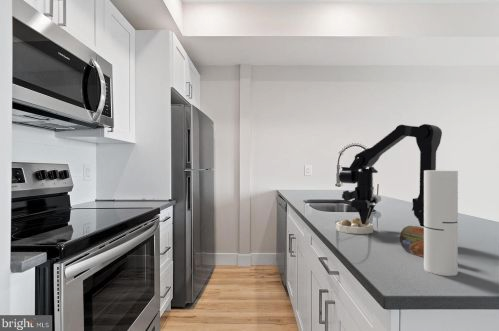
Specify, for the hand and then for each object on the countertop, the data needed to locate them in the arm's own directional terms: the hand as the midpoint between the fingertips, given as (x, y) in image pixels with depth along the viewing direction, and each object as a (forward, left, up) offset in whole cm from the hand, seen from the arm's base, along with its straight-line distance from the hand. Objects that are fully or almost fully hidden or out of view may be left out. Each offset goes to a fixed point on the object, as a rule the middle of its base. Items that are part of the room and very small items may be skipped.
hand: (364, 223), depth 121 cm
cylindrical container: (-40, -20, -3) cm, 45 cm away
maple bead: (0, 0, +1) cm, 1 cm away
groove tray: (+1, +4, -3) cm, 5 cm away
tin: (-28, -18, -3) cm, 34 cm away
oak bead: (+5, +3, 0) cm, 6 cm away
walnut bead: (-2, +7, 0) cm, 7 cm away
